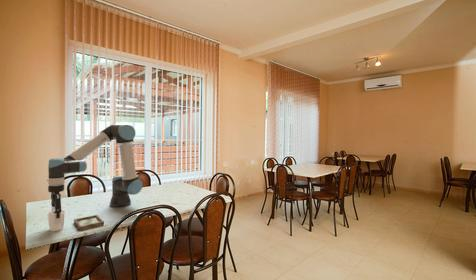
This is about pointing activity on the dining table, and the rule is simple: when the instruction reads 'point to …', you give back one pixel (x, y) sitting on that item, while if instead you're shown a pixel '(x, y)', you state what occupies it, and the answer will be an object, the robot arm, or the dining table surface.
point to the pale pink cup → (52, 221)
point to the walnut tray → (88, 222)
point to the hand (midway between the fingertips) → (55, 220)
